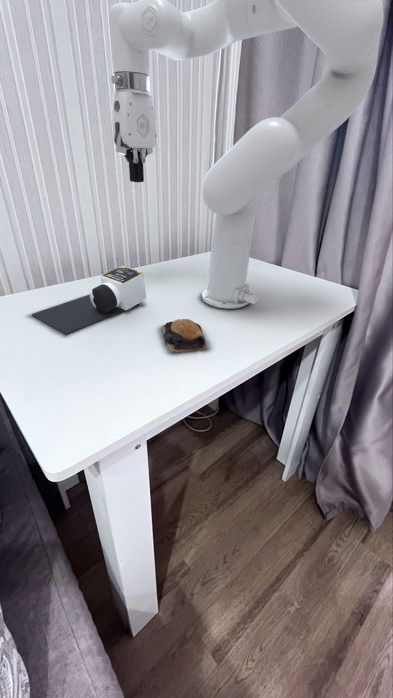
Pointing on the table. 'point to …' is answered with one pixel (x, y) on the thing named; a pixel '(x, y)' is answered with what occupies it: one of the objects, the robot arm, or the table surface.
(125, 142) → the robot arm
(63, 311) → the mat
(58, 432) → the table surface
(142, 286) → the medicine bottle
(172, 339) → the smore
